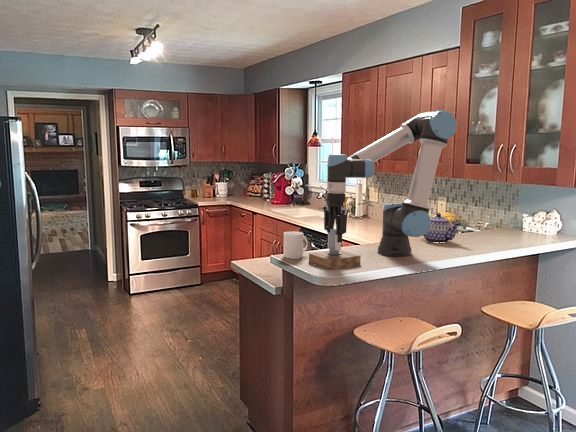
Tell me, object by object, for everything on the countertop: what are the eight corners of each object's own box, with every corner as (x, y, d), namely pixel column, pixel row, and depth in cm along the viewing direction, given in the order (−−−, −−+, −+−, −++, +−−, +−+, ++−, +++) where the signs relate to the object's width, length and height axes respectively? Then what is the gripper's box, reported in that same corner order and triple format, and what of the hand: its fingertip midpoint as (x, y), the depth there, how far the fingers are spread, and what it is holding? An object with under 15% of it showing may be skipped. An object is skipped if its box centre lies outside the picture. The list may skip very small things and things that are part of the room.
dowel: (334, 256, 206) (335, 228, 204) (340, 258, 202) (341, 229, 201) (327, 257, 203) (328, 228, 202) (333, 259, 200) (334, 230, 198)
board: (338, 258, 213) (338, 249, 213) (360, 264, 202) (360, 255, 201) (308, 262, 205) (308, 253, 204) (329, 269, 193) (329, 260, 193)
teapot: (408, 239, 259) (409, 211, 257) (426, 236, 268) (427, 209, 266) (448, 247, 239) (450, 217, 237) (467, 244, 248) (469, 214, 246)
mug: (313, 257, 215) (313, 233, 214) (290, 260, 209) (290, 235, 207) (301, 253, 223) (302, 230, 221) (279, 256, 216) (279, 232, 214)
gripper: (316, 190, 204) (314, 246, 207) (342, 194, 190) (340, 253, 193) (330, 190, 208) (328, 244, 211) (357, 193, 194) (354, 251, 197)
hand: (334, 248), depth 202 cm, fingers closed on dowel, 4 cm apart
